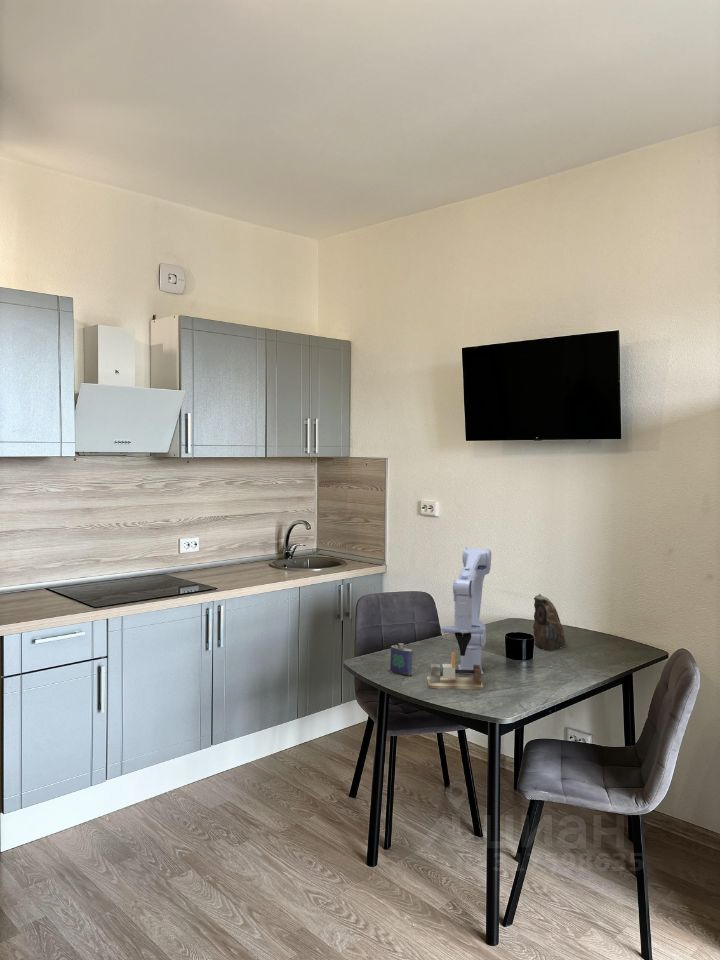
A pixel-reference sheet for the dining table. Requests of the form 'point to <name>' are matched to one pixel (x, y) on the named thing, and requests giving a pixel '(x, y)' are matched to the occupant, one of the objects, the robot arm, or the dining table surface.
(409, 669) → the flask
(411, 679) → the dining table surface
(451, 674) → the sleeve
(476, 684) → the board
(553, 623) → the owl
